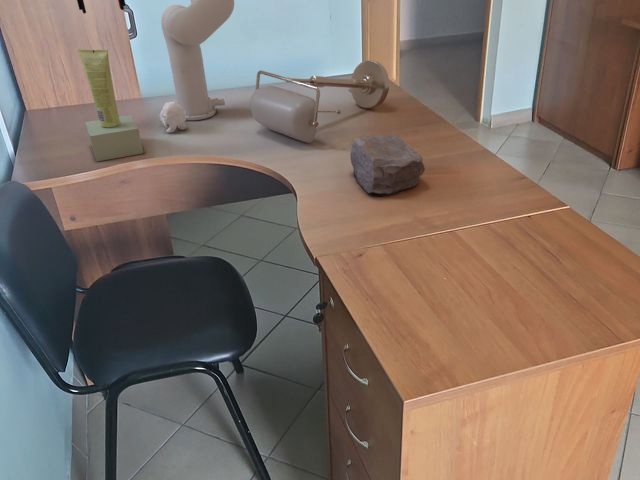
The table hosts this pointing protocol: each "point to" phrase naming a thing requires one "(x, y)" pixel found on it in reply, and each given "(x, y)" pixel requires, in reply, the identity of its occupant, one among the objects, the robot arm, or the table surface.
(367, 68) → the lamp
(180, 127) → the white irregular rounded piece
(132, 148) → the block
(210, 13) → the robot arm
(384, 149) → the stone block
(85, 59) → the tube
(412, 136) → the table surface
